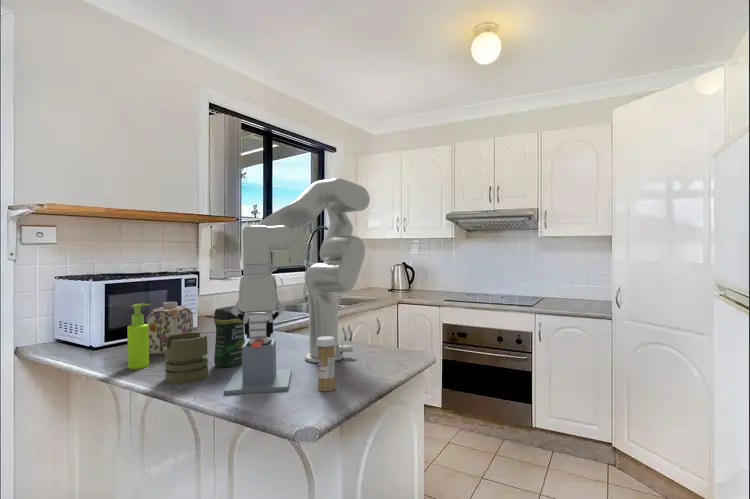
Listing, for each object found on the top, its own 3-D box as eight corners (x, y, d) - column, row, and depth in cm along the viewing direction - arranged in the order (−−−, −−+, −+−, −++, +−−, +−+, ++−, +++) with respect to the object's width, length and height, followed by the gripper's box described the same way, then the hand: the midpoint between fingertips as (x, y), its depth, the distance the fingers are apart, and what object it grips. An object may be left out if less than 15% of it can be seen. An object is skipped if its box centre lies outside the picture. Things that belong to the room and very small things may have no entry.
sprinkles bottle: (314, 389, 109) (313, 337, 109) (327, 385, 113) (326, 334, 112) (326, 393, 106) (325, 340, 106) (339, 388, 110) (338, 336, 110)
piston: (171, 342, 115) (159, 336, 123) (172, 386, 115) (160, 377, 123) (213, 335, 122) (198, 330, 130) (214, 377, 122) (199, 369, 131)
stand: (291, 372, 125) (290, 331, 125) (287, 390, 109) (286, 343, 109) (235, 375, 123) (234, 334, 122) (223, 394, 107) (222, 346, 107)
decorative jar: (166, 346, 163) (165, 300, 163) (195, 347, 161) (193, 300, 161) (146, 354, 151) (144, 304, 151) (176, 355, 149) (174, 304, 149)
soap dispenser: (156, 364, 138) (154, 303, 138) (136, 369, 131) (134, 305, 131) (144, 362, 140) (142, 302, 140) (124, 367, 134) (122, 305, 134)
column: (269, 375, 118) (268, 311, 118) (267, 380, 114) (266, 314, 114) (252, 376, 118) (251, 312, 118) (250, 382, 113) (248, 315, 113)
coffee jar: (226, 369, 130) (225, 309, 130) (210, 366, 134) (208, 307, 134) (251, 361, 138) (249, 305, 138) (235, 358, 142) (233, 304, 142)
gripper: (289, 269, 120) (291, 332, 121) (228, 270, 118) (229, 335, 118) (288, 270, 113) (289, 338, 113) (222, 272, 111) (224, 341, 111)
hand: (259, 336), depth 116 cm, fingers closed on column, 4 cm apart
